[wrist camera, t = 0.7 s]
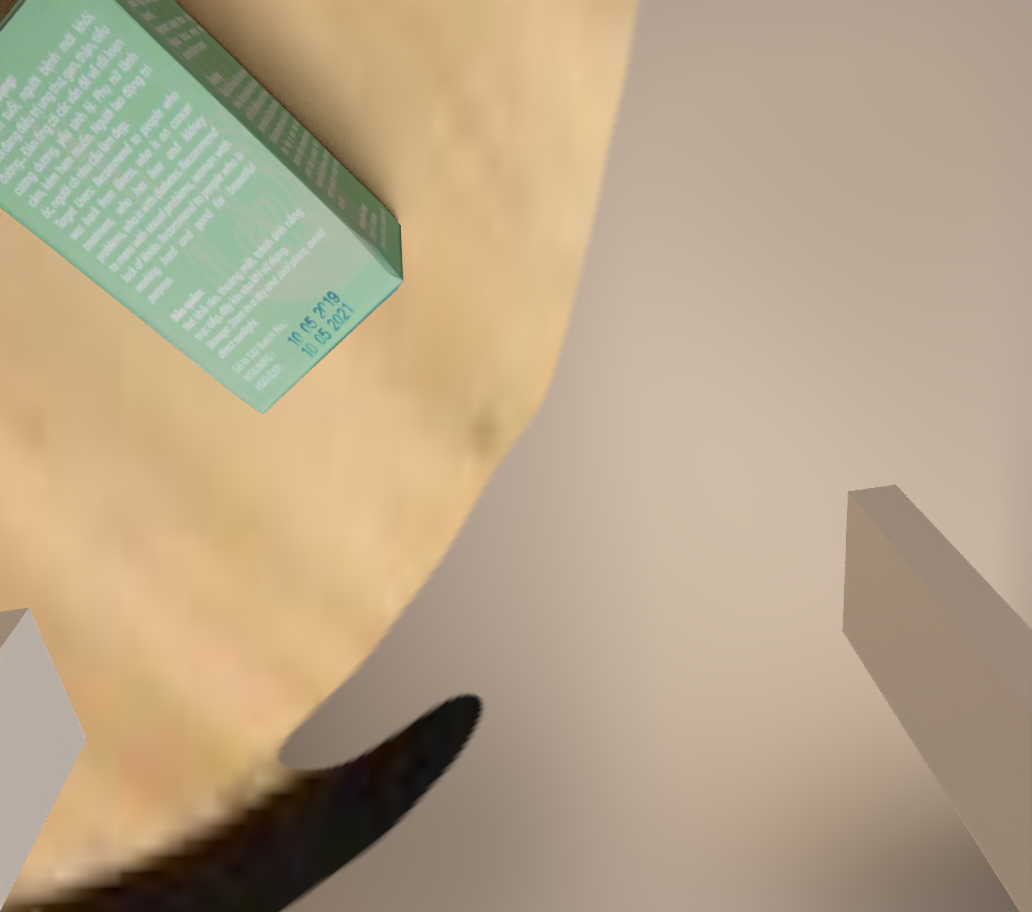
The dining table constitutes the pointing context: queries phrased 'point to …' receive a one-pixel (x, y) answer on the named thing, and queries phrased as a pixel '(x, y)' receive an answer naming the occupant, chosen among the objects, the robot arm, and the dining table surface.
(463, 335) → the dining table surface
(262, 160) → the box
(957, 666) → the robot arm
